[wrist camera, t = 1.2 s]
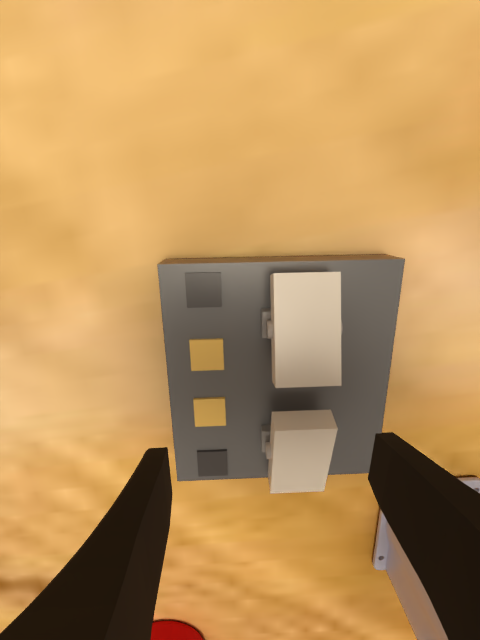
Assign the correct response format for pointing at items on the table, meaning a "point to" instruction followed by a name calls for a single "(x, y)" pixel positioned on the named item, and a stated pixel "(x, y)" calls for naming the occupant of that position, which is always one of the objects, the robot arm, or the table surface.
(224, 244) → the table surface
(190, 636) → the soda can
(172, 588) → the table surface
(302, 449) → the rocker
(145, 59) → the table surface
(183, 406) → the switch unit
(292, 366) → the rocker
